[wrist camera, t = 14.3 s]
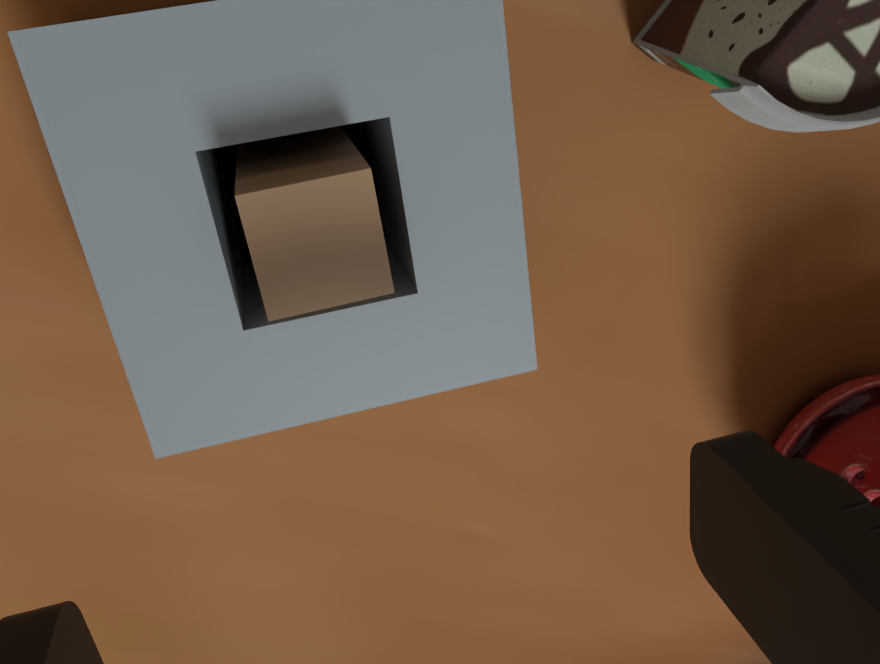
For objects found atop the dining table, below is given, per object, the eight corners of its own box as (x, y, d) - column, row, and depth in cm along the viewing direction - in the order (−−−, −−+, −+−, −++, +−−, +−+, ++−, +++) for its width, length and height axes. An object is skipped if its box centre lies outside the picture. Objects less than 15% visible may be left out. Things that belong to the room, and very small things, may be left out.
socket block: (61, 23, 27) (7, 31, 21) (444, -35, 30) (498, -42, 23) (172, 372, 33) (155, 458, 27) (485, 303, 35) (537, 369, 29)
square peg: (237, 142, 30) (234, 195, 22) (338, 123, 31) (370, 168, 23) (262, 239, 32) (268, 321, 24) (357, 219, 33) (394, 292, 25)
